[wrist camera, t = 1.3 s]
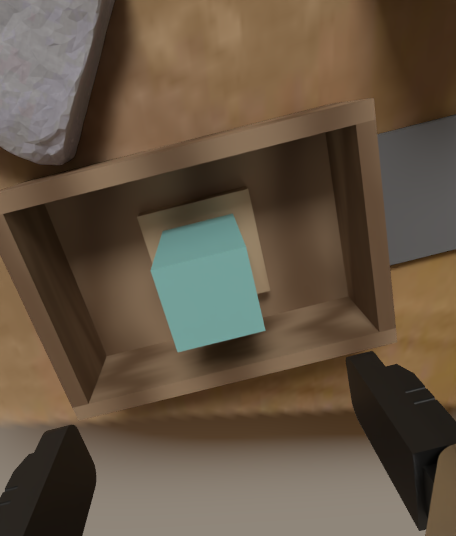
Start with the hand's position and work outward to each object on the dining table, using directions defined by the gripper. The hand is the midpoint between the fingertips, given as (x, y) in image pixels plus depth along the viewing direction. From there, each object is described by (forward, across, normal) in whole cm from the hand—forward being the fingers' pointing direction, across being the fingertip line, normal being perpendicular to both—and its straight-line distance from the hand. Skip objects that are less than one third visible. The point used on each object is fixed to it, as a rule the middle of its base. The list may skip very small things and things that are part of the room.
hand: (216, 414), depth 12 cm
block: (+15, 0, 0) cm, 15 cm away
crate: (+17, 0, 0) cm, 17 cm away
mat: (+17, -15, 0) cm, 23 cm away
